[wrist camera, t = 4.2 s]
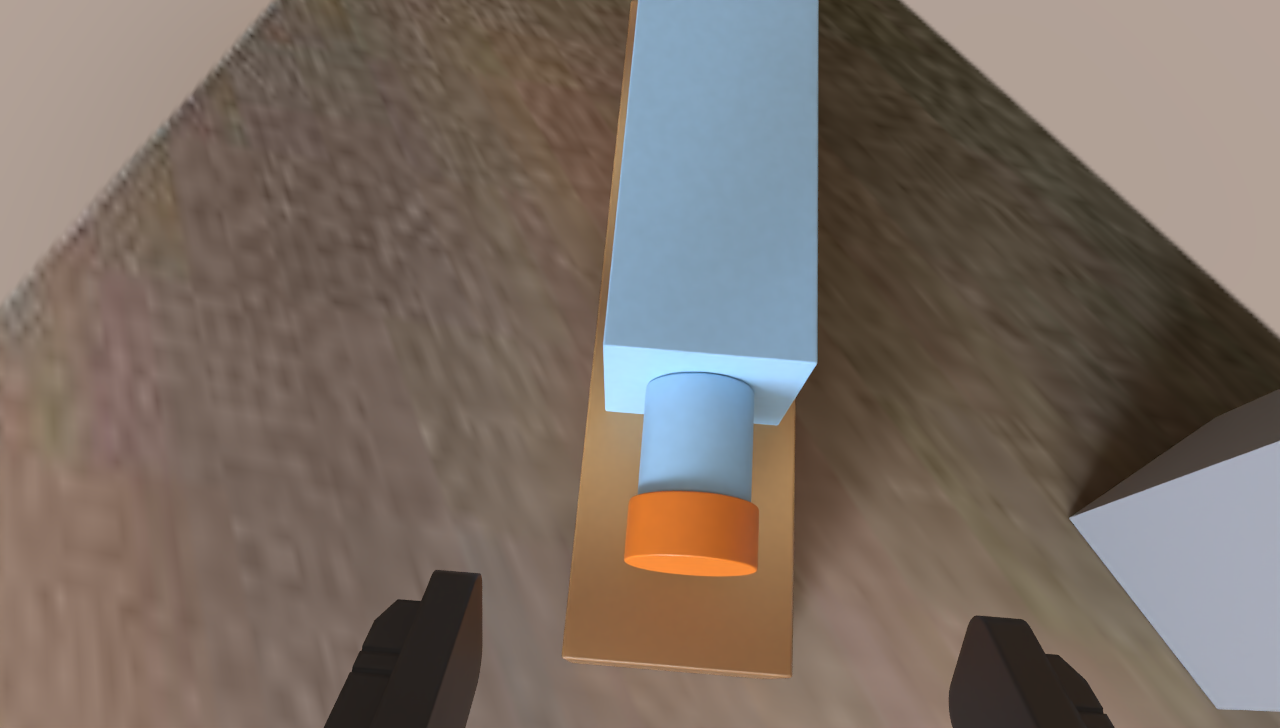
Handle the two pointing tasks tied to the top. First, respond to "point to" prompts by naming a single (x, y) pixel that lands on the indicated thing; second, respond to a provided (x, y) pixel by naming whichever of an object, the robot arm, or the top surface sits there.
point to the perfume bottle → (1206, 551)
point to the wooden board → (663, 602)
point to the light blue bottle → (712, 266)
